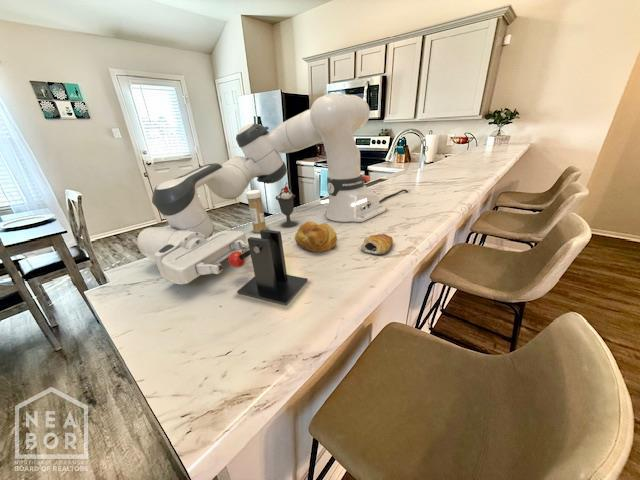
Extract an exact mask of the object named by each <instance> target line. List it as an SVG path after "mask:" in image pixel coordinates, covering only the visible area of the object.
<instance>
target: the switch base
mask: <svg viewBox="0 0 640 480" xmlns="http://www.w3.org/2000/svg"><path fill="white" fill-rule="evenodd" d="M268 234H271V236H272V237H273V239H274V240H275V242H276V244H275V245H274V246H273V247H271V248H270V242H269V239H262V238H263V237H265V236H267V235H268ZM259 235H260V237H253V236H250V237H248V238H246V241H247V244H248V245H249V249H250V254H251V255H250V259H251V263H252V268H253V274H254V276H253V277H252V278H250V280H249V281H247V282H246V283H245V284H244V285H242V286H241V287H240V288H239V289H238V290H237V291H236V293H237V294H238V295H242V296H246V297H250V298H254V299H258V300H262V301H266V302H270V303H274V304H277V305H282V306H285V307H286V306H288V305H289V304H290V303H291V301H292V300H293V299H294V298H295V297H296V295H297V294H298V293H299V292H300V290H301V289H302V288H303V287H304V286H305V285H306V284H307V283H308V281H309V280H308V278H305V277H302V276H296V275H291V274H288V272H287V266H286V259H285V251H284V246H283V244H284V243H283V239H282V232H281V230H272V229H266V230H265V229H262V230H261V231H260V233H259Z"/></svg>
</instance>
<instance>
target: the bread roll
mask: <svg viewBox="0 0 640 480" xmlns="http://www.w3.org/2000/svg"><path fill="white" fill-rule="evenodd" d="M294 241H295V243H296V244H297V245H298V246H300V247H301V248H302V249H305V251H308V252H311V253H316V254H320V253H325V252H329V251H330V250H332V249H333V248H334V247H335V246H336V245H337V243H338V235H337V232H336V231H335V230H334V228H333V227H332V226H331V225H329V224H327V223H321V224H320V223H319V224H318V223H317V222H314V221H306V222H305V223H303V224H301V225H300V226H299V227H298V229H297V231H296V233H295V234H294Z"/></svg>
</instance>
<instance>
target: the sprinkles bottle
mask: <svg viewBox="0 0 640 480" xmlns="http://www.w3.org/2000/svg"><path fill="white" fill-rule="evenodd" d="M245 196H246V199H247V203H248V210H249V214H250V215H249V216H250V220H251V224H252V231H253V232H254V233H256V234H257V233H259V234H260V231H261V230H262V229H265V230H268V228H267V225H266V218H265V217H266V216H265V212H264V207H263V203H262V192H261V190H259V189H253V190H248V191H246V192H245Z"/></svg>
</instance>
